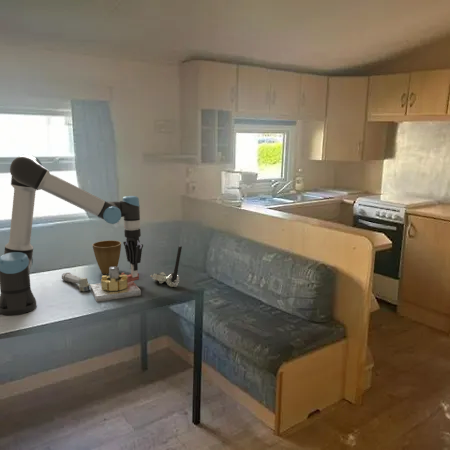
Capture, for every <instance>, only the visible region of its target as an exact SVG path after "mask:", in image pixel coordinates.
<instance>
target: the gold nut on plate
mask: <svg viewBox="0 0 450 450" xmlns="http://www.w3.org/2000/svg"><path fill="white" fill-rule="evenodd" d="M119 275H120V267H119V266H117V267H116V266H114V267H110V268H109V274H108V276H110V281H111V278H116V281H117V280H119ZM89 288H90V290H89V291H91V293H92V296H93V298H94V300H95V302H103V301H104V302H105V301H110V300H111V301H112V300H118V299H125V298H131V297H139V296H141V295H142V294H141V293H142V292H141V291H142V290H141V289H140V288H139V286H138V285H137V283H135V281H132V282H129V283H128V286H127V288H125V289H122V290H118V291H107V290H103V289H102V286H101V282H99V283H93V284H90V286H89Z"/></svg>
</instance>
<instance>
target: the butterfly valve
mask: <svg viewBox="0 0 450 450" xmlns="http://www.w3.org/2000/svg"><path fill="white" fill-rule="evenodd" d="M182 247H183V246H180V245H179V246H178V247H177V254H176V260H175V265H174V269H173V272H171V273H169V274H168V275H167V274H166V273H165V272H160V273H153V274H150V278H152V280H154V281H157V282H159V284H164V283H166V284H167V286H169V287H173V288H176V287H178V285H179V283H180V276H179V274H178V272H179V265H180V260H181V254H182V249H183V248H182Z"/></svg>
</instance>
